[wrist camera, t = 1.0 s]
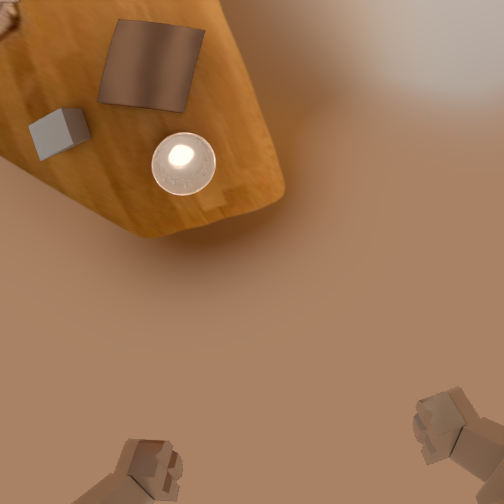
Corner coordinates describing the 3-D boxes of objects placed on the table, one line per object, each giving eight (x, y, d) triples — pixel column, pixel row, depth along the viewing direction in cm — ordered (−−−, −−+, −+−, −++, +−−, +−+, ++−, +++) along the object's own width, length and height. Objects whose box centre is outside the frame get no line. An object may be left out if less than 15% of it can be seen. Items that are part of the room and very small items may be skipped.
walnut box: (105, 103, 40) (96, 102, 34) (123, 30, 35) (118, 19, 30) (182, 113, 43) (184, 112, 38) (200, 40, 39) (205, 30, 34)
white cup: (157, 127, 43) (154, 130, 34) (209, 131, 45) (219, 135, 37) (152, 178, 46) (149, 194, 37) (203, 181, 48) (211, 197, 40)
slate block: (63, 151, 40) (40, 161, 32) (53, 122, 38) (28, 126, 29) (91, 137, 41) (73, 143, 32) (81, 108, 39) (60, 107, 30)
